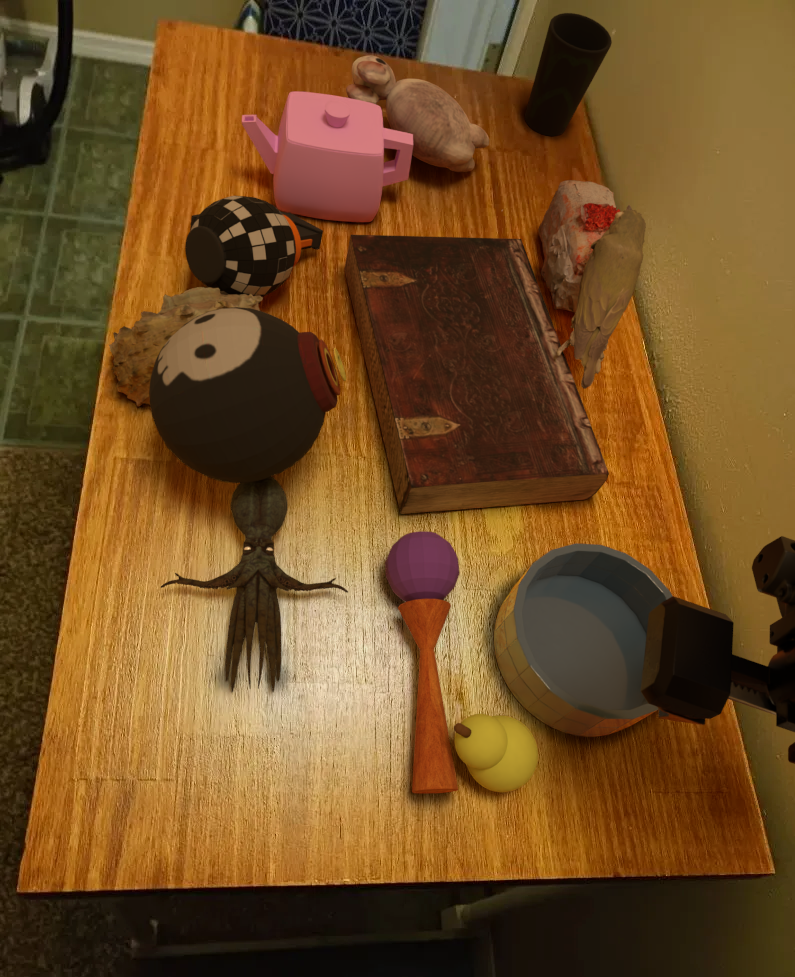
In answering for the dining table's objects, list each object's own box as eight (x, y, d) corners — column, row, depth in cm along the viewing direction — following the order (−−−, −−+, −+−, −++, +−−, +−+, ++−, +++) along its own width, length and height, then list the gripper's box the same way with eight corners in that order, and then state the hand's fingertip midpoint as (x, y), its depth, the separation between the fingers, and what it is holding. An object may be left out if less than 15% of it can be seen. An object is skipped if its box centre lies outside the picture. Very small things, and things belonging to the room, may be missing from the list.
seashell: (287, 361, 78) (295, 277, 71) (180, 447, 70) (176, 362, 62) (199, 306, 81) (197, 219, 73) (86, 382, 72) (70, 293, 65)
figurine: (148, 687, 56) (168, 452, 63) (153, 701, 61) (172, 481, 68) (355, 688, 59) (352, 462, 66) (343, 700, 64) (342, 490, 71)
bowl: (648, 761, 65) (682, 744, 60) (477, 703, 64) (498, 682, 60) (663, 602, 72) (694, 577, 68) (511, 549, 72) (532, 520, 67)
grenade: (159, 176, 73) (277, 167, 84) (151, 274, 79) (263, 254, 90) (245, 225, 69) (359, 209, 80) (231, 326, 74) (339, 298, 85)
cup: (514, 131, 103) (547, 39, 93) (519, 96, 107) (551, 5, 97) (572, 148, 104) (611, 59, 94) (574, 113, 108) (612, 24, 98)
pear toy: (544, 805, 59) (480, 770, 53) (481, 795, 62) (416, 761, 57) (556, 731, 61) (497, 690, 56) (496, 726, 65) (434, 687, 59)
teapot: (236, 211, 86) (239, 126, 77) (242, 146, 91) (246, 60, 83) (403, 233, 89) (424, 154, 81) (399, 169, 95) (418, 89, 86)
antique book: (591, 498, 76) (614, 471, 72) (399, 515, 71) (411, 487, 67) (510, 270, 90) (524, 236, 86) (343, 271, 85) (350, 234, 81)
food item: (613, 328, 89) (655, 261, 80) (544, 322, 87) (580, 254, 79) (588, 238, 95) (624, 168, 87) (523, 231, 94) (554, 159, 85)
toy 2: (376, 102, 102) (301, 80, 90) (408, 45, 98) (334, 14, 86) (530, 243, 96) (472, 241, 83) (571, 189, 92) (517, 178, 80)
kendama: (394, 788, 56) (384, 520, 65) (393, 796, 61) (384, 548, 70) (480, 784, 56) (459, 518, 65) (472, 793, 61) (453, 546, 70)
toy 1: (120, 303, 63) (302, 242, 62) (198, 419, 73) (356, 369, 72) (107, 425, 54) (319, 357, 53) (198, 537, 65) (377, 483, 63)
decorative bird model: (642, 220, 83) (670, 198, 78) (587, 398, 79) (613, 387, 74) (599, 198, 82) (625, 175, 77) (541, 378, 78) (565, 365, 73)
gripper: (1037, 578, 46) (851, 666, 59) (726, 469, 45) (609, 582, 58) (1074, 775, 40) (858, 824, 53) (716, 652, 39) (587, 732, 52)
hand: (725, 732), depth 54 cm, fingers open, 9 cm apart
